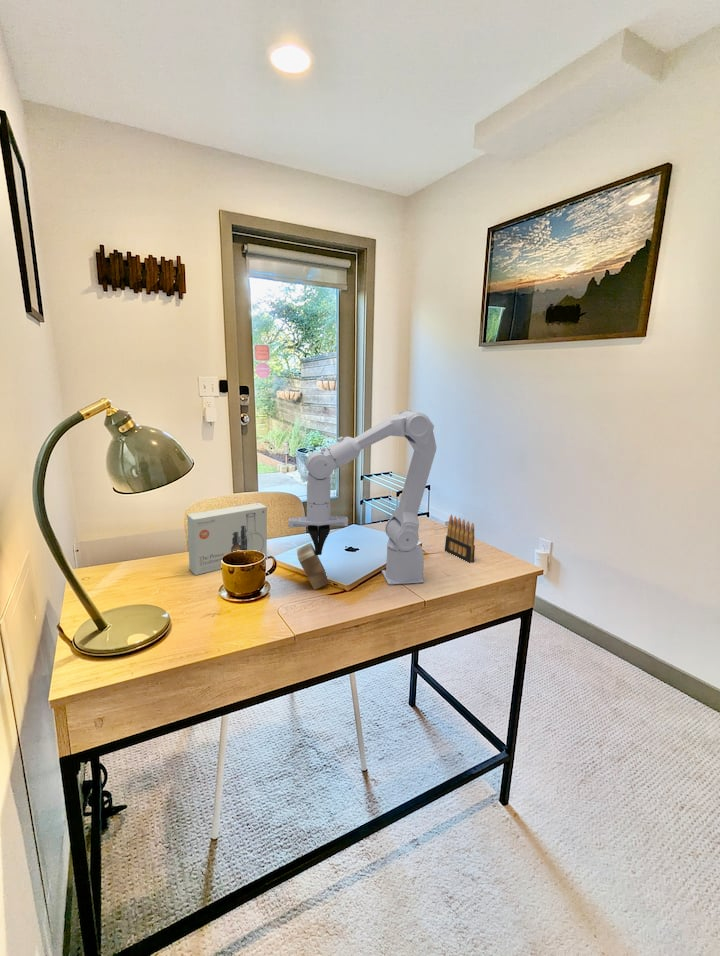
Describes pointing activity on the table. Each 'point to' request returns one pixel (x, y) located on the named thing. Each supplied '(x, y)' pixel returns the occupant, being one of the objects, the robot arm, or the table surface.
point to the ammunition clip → (460, 539)
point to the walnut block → (312, 566)
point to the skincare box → (225, 534)
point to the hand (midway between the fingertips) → (318, 553)
